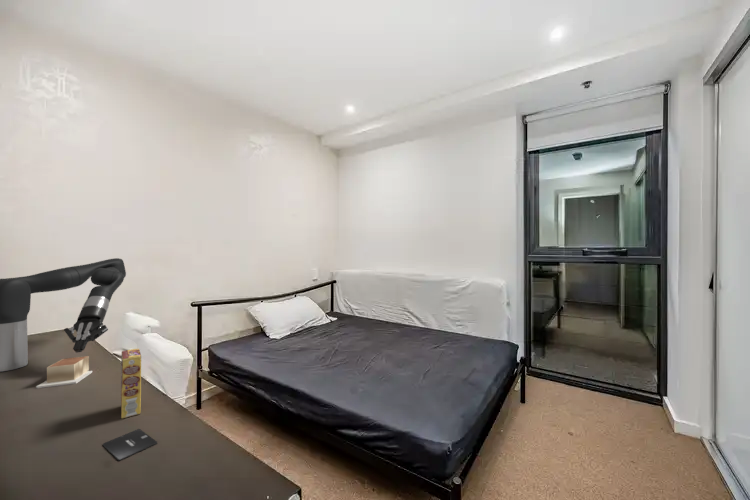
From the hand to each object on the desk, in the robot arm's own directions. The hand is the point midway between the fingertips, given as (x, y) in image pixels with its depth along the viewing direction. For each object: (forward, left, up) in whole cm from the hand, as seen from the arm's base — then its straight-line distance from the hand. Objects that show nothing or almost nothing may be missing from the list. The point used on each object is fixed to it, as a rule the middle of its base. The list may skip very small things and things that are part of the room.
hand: (77, 351), depth 111 cm
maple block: (0, 0, -5) cm, 5 cm away
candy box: (+46, -12, -8) cm, 49 cm away
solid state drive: (+62, -23, -8) cm, 67 cm away
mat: (+3, -5, -8) cm, 10 cm away
